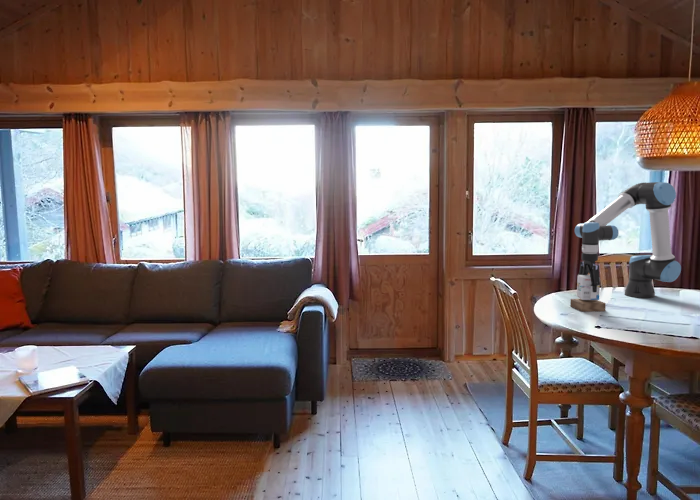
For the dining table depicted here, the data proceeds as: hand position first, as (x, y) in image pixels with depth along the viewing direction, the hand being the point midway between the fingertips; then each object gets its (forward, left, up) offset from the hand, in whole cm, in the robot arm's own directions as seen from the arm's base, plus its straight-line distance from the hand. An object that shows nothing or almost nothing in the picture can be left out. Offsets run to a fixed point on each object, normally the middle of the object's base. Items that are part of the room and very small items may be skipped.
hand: (587, 296), depth 265 cm
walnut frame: (0, 0, -6) cm, 6 cm away
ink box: (0, 0, -1) cm, 1 cm away
